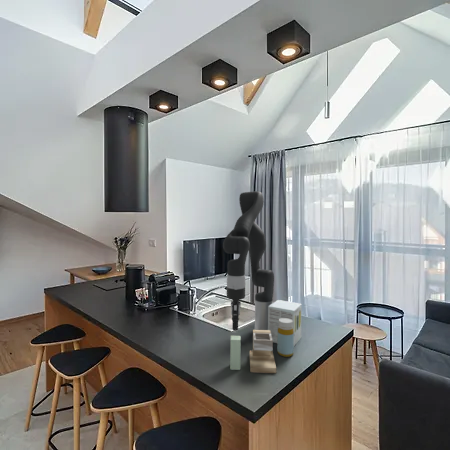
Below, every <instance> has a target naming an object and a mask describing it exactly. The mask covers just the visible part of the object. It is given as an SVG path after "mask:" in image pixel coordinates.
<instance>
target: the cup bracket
mask: <svg viewBox="0 0 450 450" xmlns="http://www.w3.org/2000/svg"><path fill="white" fill-rule="evenodd" d="M273 344H274V342H273V340H272V336H271V332H270V330H255V329H252V350H249V366H250V367H249V369H250V371H249V372H250V373H258V374H259V373H262V374H277V366H276V360H275V355H274V353H273V352H274V350H273V347H274V345H273Z"/></svg>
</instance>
